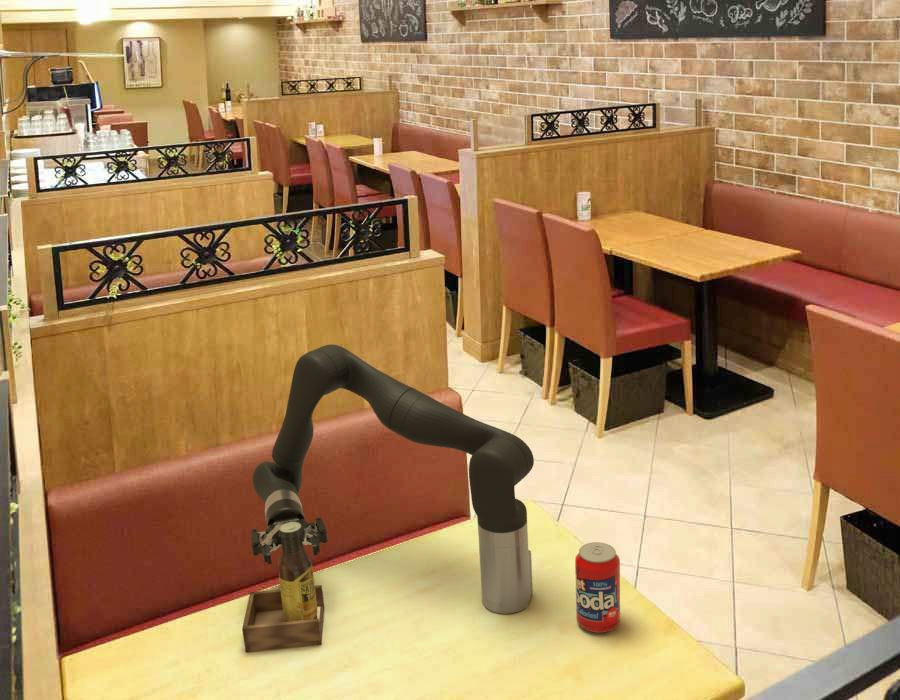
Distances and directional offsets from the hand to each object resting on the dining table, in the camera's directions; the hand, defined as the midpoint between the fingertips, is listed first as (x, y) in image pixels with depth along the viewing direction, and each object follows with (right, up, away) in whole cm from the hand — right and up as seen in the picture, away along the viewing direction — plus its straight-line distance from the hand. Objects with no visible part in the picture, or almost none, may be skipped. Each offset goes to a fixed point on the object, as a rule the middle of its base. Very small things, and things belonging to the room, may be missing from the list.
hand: (292, 555), depth 171 cm
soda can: (+56, -12, -3) cm, 58 cm away
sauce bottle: (+2, -13, +1) cm, 13 cm away
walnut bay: (-1, -14, +1) cm, 14 cm away
